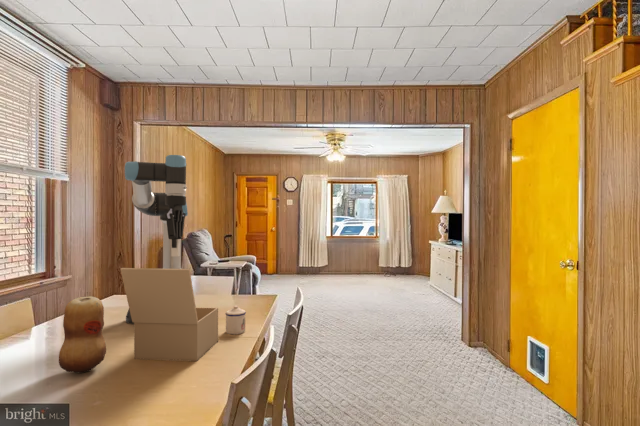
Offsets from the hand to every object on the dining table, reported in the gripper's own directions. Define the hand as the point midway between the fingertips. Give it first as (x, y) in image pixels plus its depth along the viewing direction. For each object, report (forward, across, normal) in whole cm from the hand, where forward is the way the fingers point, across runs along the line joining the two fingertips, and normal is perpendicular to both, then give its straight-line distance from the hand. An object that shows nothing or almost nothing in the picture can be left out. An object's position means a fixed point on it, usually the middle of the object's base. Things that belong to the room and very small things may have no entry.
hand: (175, 256), depth 149 cm
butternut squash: (+38, -20, +23) cm, 48 cm away
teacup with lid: (+38, +29, -15) cm, 50 cm away
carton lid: (+13, -12, 0) cm, 18 cm away
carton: (+37, +3, 0) cm, 37 cm away
